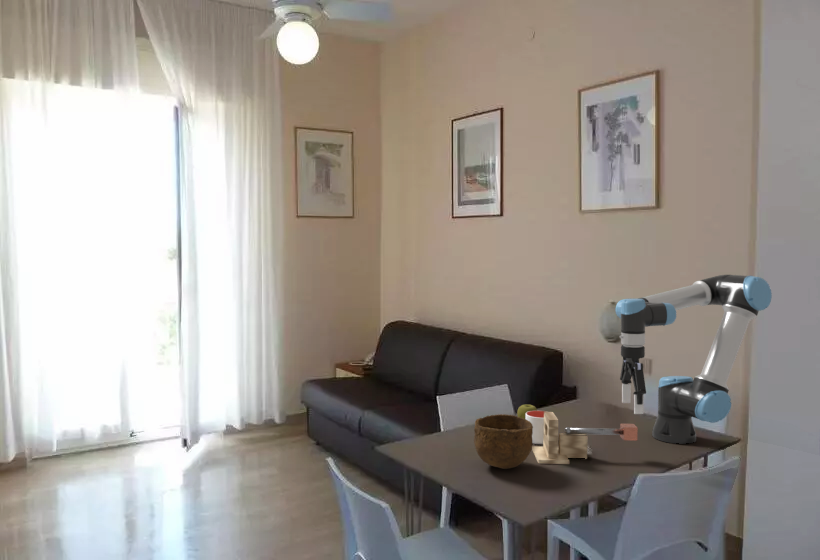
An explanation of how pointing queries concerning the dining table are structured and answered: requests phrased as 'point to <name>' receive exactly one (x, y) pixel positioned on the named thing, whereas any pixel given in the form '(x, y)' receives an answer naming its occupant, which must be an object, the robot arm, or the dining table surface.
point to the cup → (536, 425)
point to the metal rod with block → (608, 431)
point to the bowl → (503, 440)
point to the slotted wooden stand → (559, 444)
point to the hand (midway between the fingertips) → (632, 408)
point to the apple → (525, 410)
